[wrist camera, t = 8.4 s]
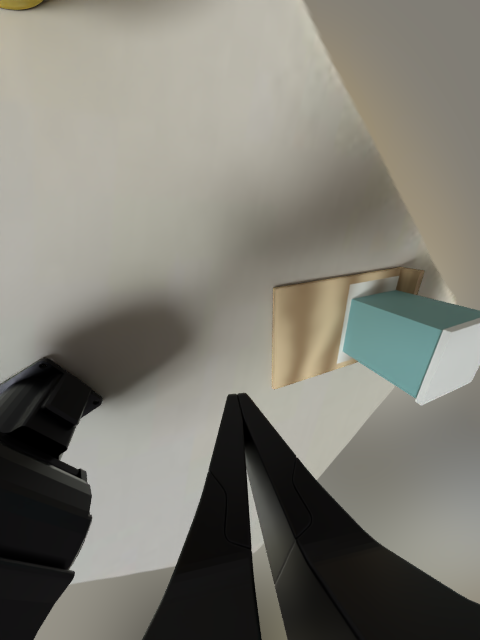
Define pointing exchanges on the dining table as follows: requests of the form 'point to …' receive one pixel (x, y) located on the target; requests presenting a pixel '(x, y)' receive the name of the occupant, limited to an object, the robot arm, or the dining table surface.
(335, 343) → the plinth board
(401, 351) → the tin
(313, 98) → the dining table surface
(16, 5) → the plant pot
